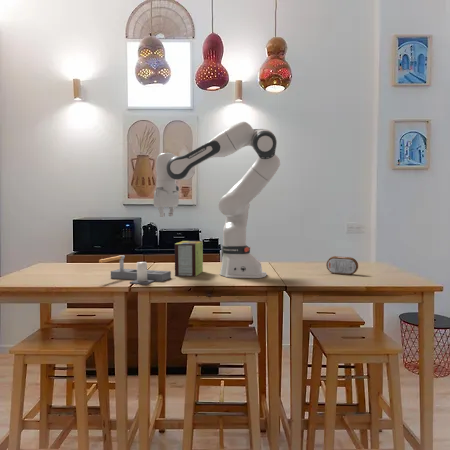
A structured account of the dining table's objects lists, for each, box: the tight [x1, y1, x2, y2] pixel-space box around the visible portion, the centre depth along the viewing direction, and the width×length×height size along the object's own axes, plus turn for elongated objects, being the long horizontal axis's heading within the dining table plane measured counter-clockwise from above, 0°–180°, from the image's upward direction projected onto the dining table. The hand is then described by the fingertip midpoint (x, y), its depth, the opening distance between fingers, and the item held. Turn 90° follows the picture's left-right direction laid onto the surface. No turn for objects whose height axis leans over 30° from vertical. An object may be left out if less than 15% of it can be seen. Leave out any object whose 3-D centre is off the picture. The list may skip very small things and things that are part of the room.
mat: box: [129, 280, 156, 286], centre depth 189 cm, size 8×8×1 cm
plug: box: [136, 261, 148, 282], centre depth 189 cm, size 4×4×8 cm
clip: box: [98, 254, 126, 264], centre depth 195 cm, size 18×3×1 cm, turn 160°
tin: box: [326, 255, 359, 276], centre depth 212 cm, size 15×3×8 cm, turn 65°
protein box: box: [174, 240, 204, 277], centre depth 212 cm, size 10×15×16 cm
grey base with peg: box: [110, 258, 172, 283], centre depth 199 cm, size 26×9×9 cm, turn 72°
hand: (166, 216), depth 206 cm, fingers open, 8 cm apart
